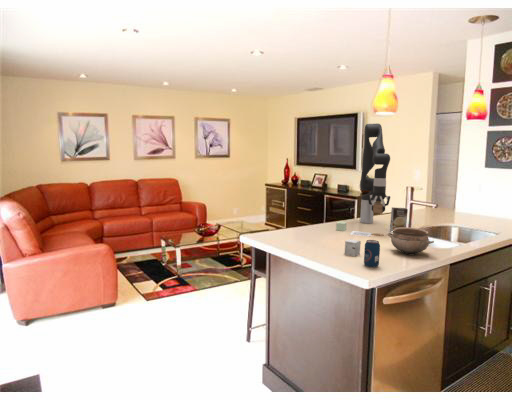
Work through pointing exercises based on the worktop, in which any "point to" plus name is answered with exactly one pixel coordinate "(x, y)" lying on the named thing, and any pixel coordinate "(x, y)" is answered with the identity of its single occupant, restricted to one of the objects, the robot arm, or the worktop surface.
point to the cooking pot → (410, 240)
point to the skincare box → (352, 247)
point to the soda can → (371, 253)
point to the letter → (360, 233)
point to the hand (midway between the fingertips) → (378, 211)
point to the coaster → (377, 234)
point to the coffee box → (398, 218)
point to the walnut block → (378, 208)
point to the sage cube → (341, 226)
